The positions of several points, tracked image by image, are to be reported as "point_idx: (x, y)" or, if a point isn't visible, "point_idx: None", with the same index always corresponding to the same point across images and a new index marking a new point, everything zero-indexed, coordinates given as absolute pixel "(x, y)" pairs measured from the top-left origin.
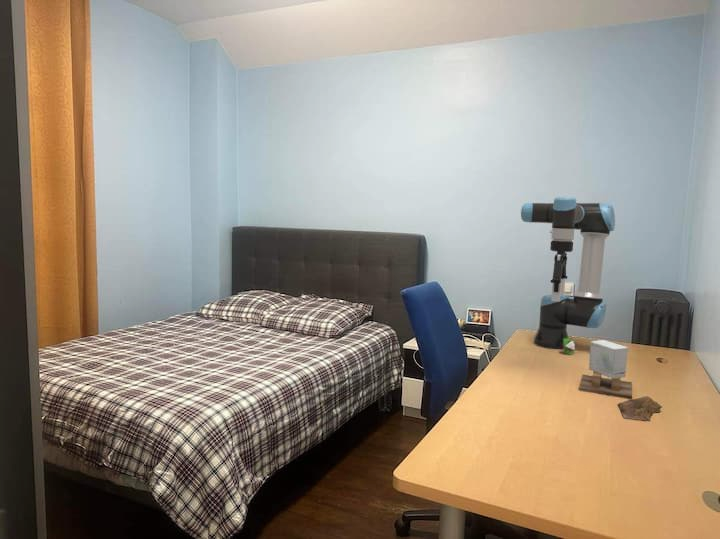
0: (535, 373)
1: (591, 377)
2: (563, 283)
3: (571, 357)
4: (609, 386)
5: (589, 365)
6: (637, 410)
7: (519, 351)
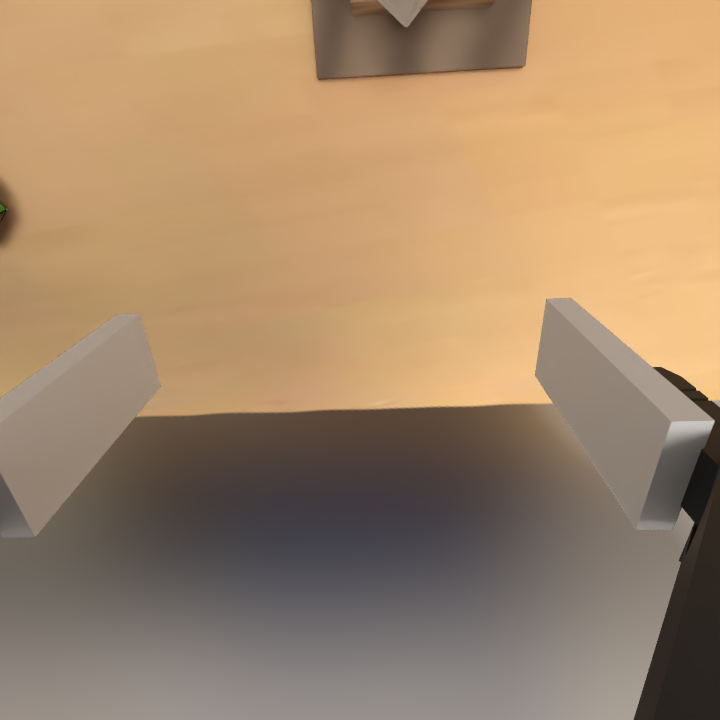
0: (383, 270)
1: (341, 27)
2: (44, 408)
3: (36, 176)
4: None
5: (412, 19)
6: None
7: None
